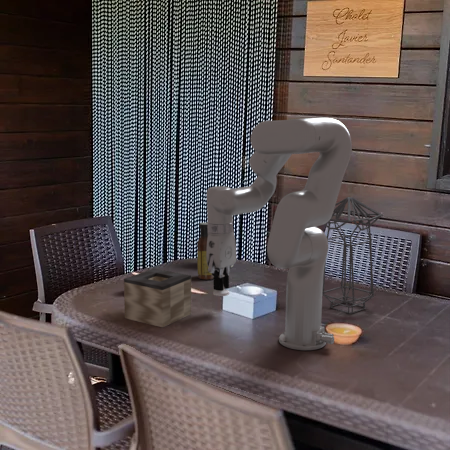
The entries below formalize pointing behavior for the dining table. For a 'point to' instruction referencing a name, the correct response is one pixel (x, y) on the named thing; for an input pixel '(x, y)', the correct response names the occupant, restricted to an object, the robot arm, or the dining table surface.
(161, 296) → the socket
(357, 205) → the geometric lantern
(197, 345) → the dining table surface
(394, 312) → the dining table surface
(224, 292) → the chess piece
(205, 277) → the sauce bottle
